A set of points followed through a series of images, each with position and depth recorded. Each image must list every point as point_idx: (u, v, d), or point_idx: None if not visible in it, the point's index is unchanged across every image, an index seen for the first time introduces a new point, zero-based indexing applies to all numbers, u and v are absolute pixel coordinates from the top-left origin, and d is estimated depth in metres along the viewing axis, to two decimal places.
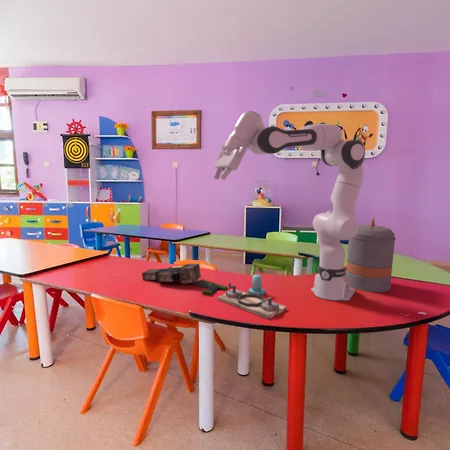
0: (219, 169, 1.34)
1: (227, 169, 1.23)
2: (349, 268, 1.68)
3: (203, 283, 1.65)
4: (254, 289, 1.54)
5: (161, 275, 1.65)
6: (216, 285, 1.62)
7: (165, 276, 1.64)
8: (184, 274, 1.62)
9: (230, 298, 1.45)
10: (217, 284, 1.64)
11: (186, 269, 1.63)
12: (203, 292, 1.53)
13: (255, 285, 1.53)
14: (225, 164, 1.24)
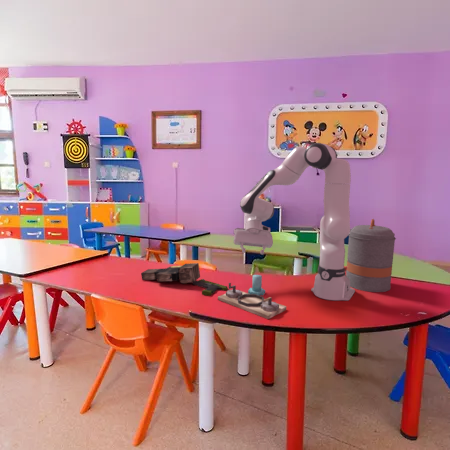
0: (262, 246, 1.67)
1: (240, 245, 1.67)
2: (349, 268, 1.68)
3: (203, 283, 1.65)
4: (254, 289, 1.54)
5: (161, 275, 1.65)
6: (216, 285, 1.62)
7: (164, 275, 1.64)
8: (184, 274, 1.63)
9: (230, 298, 1.45)
10: (217, 284, 1.64)
11: (186, 269, 1.63)
12: (203, 292, 1.53)
13: (255, 285, 1.53)
14: None
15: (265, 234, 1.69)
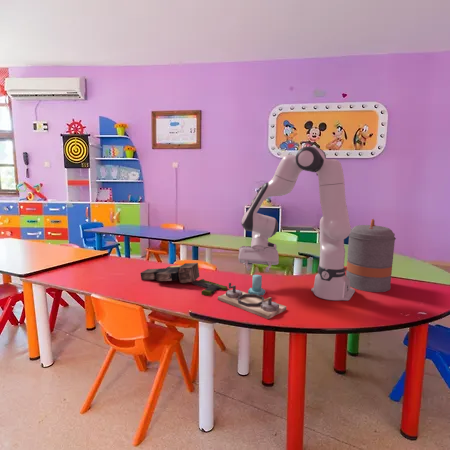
0: None
1: (245, 263, 1.64)
2: (349, 268, 1.68)
3: (203, 283, 1.65)
4: (254, 289, 1.54)
5: (160, 275, 1.65)
6: (216, 285, 1.62)
7: (164, 275, 1.65)
8: (183, 273, 1.63)
9: (230, 298, 1.45)
10: (217, 284, 1.64)
11: (185, 268, 1.64)
12: (202, 292, 1.53)
13: (255, 285, 1.53)
14: None
15: (271, 251, 1.63)
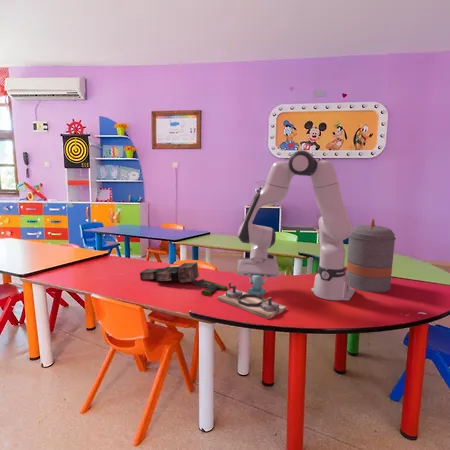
0: (264, 276, 1.57)
1: None
2: (349, 268, 1.68)
3: (203, 283, 1.65)
4: (254, 289, 1.54)
5: (160, 274, 1.66)
6: (215, 285, 1.62)
7: (163, 275, 1.65)
8: (183, 273, 1.64)
9: (230, 298, 1.45)
10: (217, 284, 1.64)
11: (185, 268, 1.65)
12: (202, 292, 1.53)
13: (255, 285, 1.53)
14: None
15: (270, 263, 1.58)
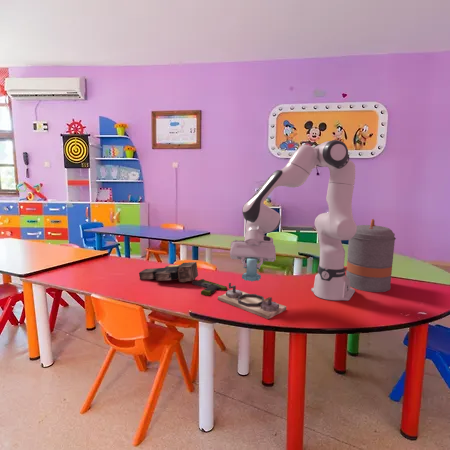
0: (259, 260, 1.42)
1: None
2: (349, 268, 1.68)
3: (202, 283, 1.65)
4: (248, 274, 1.39)
5: (159, 274, 1.66)
6: (215, 285, 1.62)
7: (163, 275, 1.66)
8: (183, 273, 1.64)
9: (230, 298, 1.45)
10: (216, 284, 1.64)
11: (185, 268, 1.65)
12: (202, 292, 1.53)
13: (249, 269, 1.38)
14: None
15: (267, 245, 1.43)
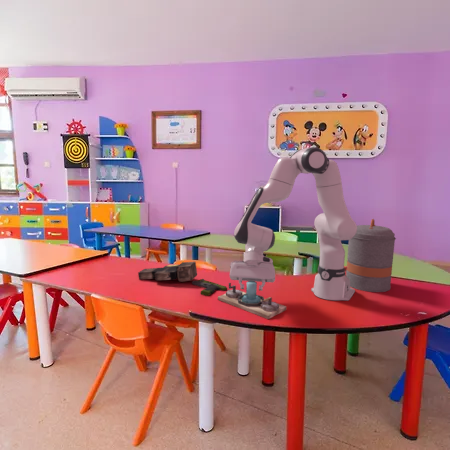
0: (262, 281, 1.42)
1: None
2: (349, 268, 1.68)
3: (202, 283, 1.65)
4: (248, 297, 1.40)
5: (159, 274, 1.67)
6: (215, 285, 1.62)
7: (162, 274, 1.66)
8: (182, 272, 1.65)
9: (230, 298, 1.45)
10: (216, 284, 1.64)
11: (184, 267, 1.66)
12: (201, 292, 1.53)
13: (249, 293, 1.39)
14: None
15: (266, 266, 1.44)
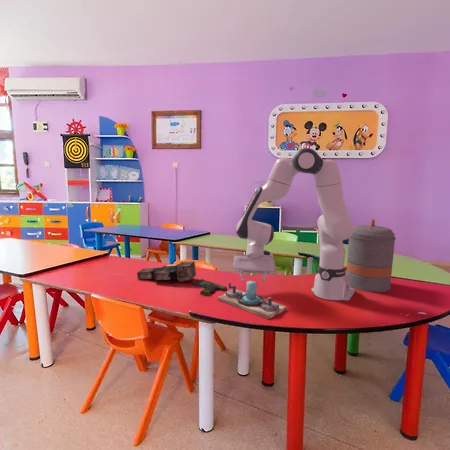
0: (264, 273, 1.54)
1: (240, 272, 1.56)
2: (349, 268, 1.68)
3: (202, 283, 1.65)
4: (248, 297, 1.40)
5: (158, 274, 1.67)
6: (215, 285, 1.62)
7: (162, 274, 1.67)
8: (182, 272, 1.66)
9: (230, 298, 1.45)
10: (216, 284, 1.64)
11: (183, 267, 1.67)
12: (201, 292, 1.53)
13: (249, 293, 1.39)
14: None
15: (267, 259, 1.56)
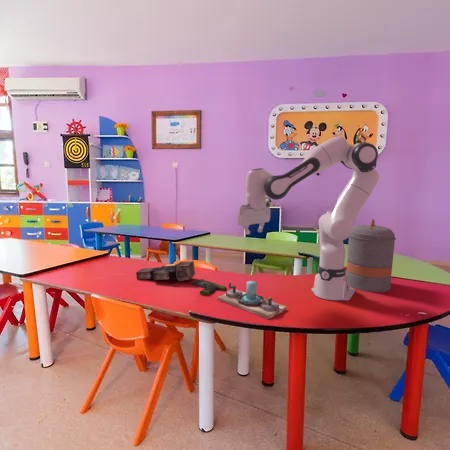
0: (260, 223, 1.55)
1: (244, 226, 1.47)
2: (349, 268, 1.68)
3: (202, 283, 1.65)
4: (248, 297, 1.40)
5: (157, 273, 1.67)
6: (215, 285, 1.62)
7: (161, 274, 1.67)
8: (181, 271, 1.66)
9: (230, 298, 1.45)
10: (216, 284, 1.64)
11: (182, 267, 1.67)
12: (201, 292, 1.53)
13: (249, 293, 1.39)
14: None
15: (265, 210, 1.54)
